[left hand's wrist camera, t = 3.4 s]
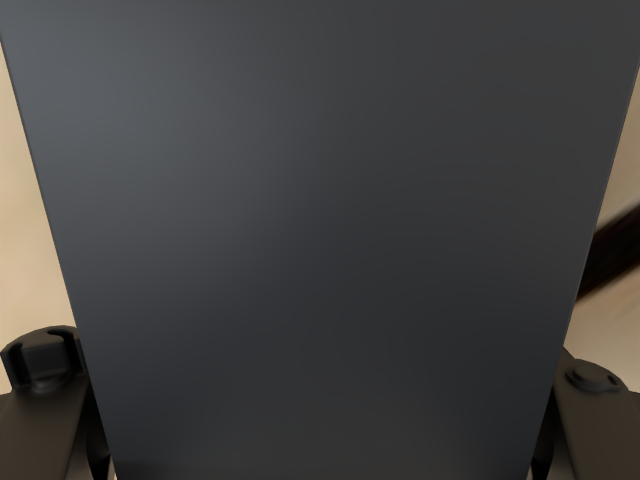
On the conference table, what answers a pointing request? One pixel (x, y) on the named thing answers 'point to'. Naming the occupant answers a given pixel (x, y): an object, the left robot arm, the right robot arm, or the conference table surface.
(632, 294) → the conference table surface
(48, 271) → the conference table surface
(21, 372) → the left robot arm
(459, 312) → the long box
